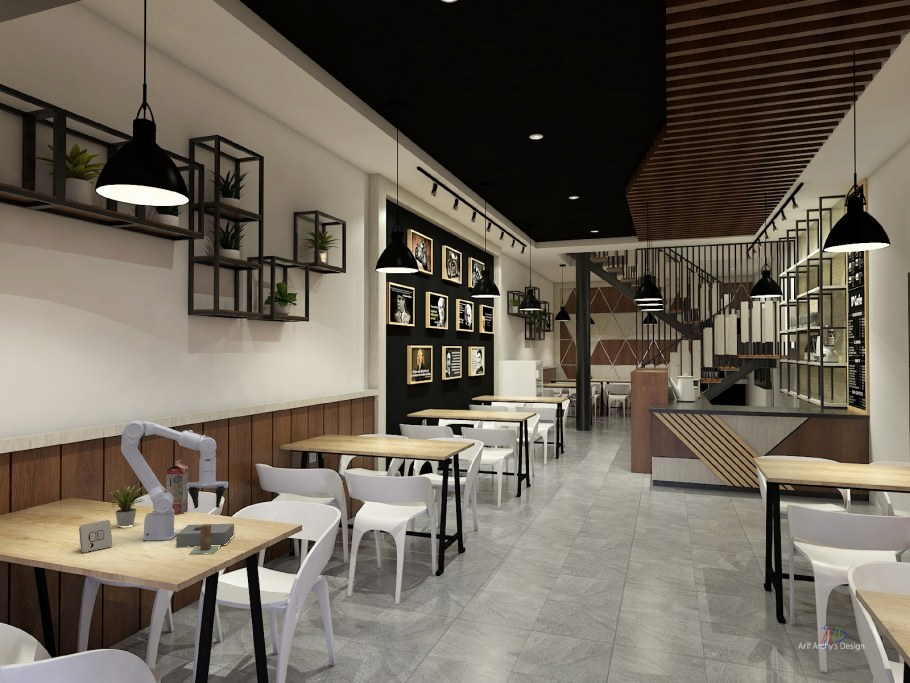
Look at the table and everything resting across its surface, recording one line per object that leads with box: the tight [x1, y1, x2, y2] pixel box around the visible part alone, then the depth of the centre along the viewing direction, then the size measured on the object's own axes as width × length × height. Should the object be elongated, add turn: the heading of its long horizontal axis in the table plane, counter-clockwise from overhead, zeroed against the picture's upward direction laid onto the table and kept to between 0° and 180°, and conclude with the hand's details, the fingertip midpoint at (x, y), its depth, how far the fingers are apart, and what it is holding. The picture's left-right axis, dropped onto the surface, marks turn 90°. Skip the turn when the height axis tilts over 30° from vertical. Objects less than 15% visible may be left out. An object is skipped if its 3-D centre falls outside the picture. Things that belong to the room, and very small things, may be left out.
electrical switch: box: [78, 519, 113, 553], centre depth 204 cm, size 9×5×9 cm, turn 141°
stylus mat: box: [188, 546, 219, 555], centre depth 202 cm, size 8×8×1 cm
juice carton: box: [165, 459, 189, 515], centre depth 255 cm, size 7×7×22 cm
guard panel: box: [175, 523, 235, 548], centre depth 212 cm, size 16×12×4 cm
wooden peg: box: [200, 523, 212, 551], centre depth 202 cm, size 3×3×8 cm
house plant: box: [109, 484, 149, 526], centre depth 231 cm, size 14×14×16 cm
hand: (207, 507), depth 223 cm, fingers open, 7 cm apart
